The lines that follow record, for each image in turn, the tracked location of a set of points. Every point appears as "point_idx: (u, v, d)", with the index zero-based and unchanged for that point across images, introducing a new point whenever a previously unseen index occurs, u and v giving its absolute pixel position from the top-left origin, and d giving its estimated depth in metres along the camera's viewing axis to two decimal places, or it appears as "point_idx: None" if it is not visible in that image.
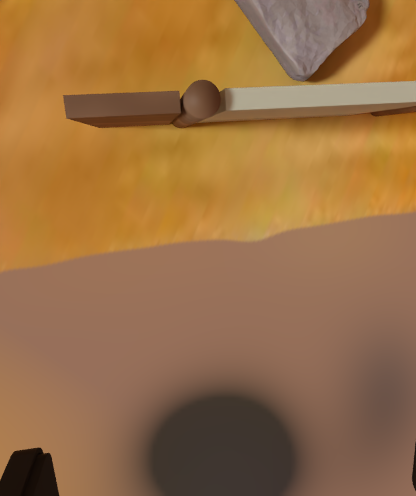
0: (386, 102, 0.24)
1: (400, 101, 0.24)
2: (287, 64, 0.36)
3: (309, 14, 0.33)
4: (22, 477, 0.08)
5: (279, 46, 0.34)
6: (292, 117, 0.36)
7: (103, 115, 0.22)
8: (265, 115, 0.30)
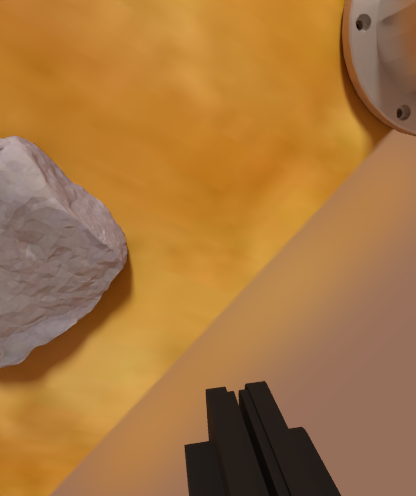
0: None
1: None
2: None
3: None
4: (227, 406, 0.09)
5: None
6: None
7: None
8: None
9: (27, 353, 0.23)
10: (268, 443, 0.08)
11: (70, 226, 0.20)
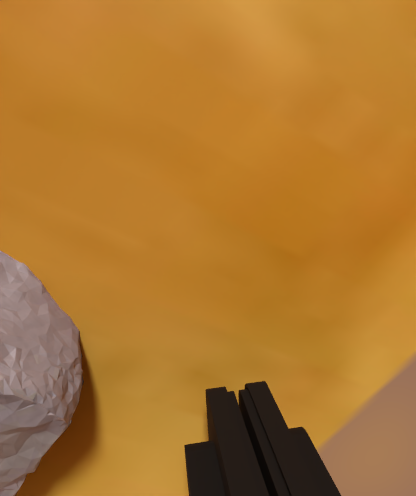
0: None
1: None
2: None
3: None
4: (227, 406, 0.09)
5: None
6: None
7: None
8: None
9: None
10: (268, 443, 0.08)
11: None
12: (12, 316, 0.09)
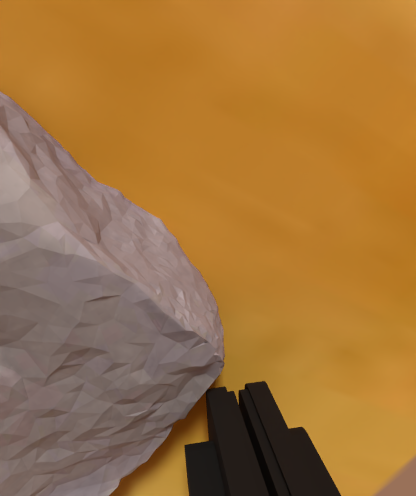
0: None
1: None
2: None
3: None
4: (227, 406, 0.09)
5: None
6: None
7: None
8: None
9: None
10: (268, 443, 0.08)
11: (104, 296, 0.07)
12: (167, 263, 0.09)
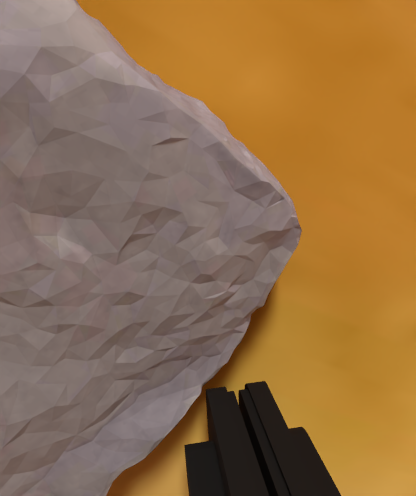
0: None
1: None
2: None
3: None
4: (227, 406, 0.09)
5: None
6: None
7: None
8: None
9: (106, 488, 0.09)
10: (268, 443, 0.08)
11: (172, 139, 0.07)
12: None
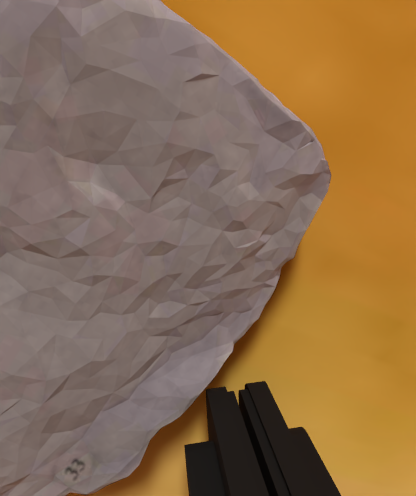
0: None
1: None
2: None
3: None
4: (227, 405, 0.09)
5: None
6: None
7: None
8: None
9: (144, 447, 0.10)
10: (268, 443, 0.08)
11: (202, 75, 0.06)
12: None
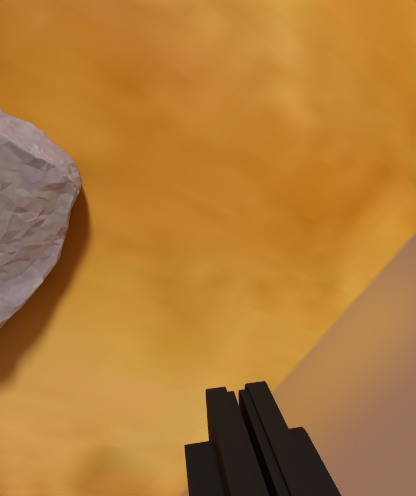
0: None
1: None
2: None
3: None
4: (227, 405, 0.09)
5: None
6: None
7: None
8: None
9: None
10: (268, 443, 0.08)
11: None
12: (31, 137, 0.17)
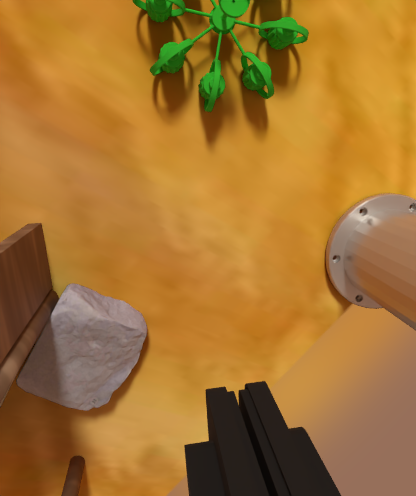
0: None
1: None
2: None
3: (62, 369, 0.38)
4: (227, 406, 0.09)
5: (29, 356, 0.37)
6: None
7: None
8: None
9: (110, 395, 0.40)
10: (268, 443, 0.08)
11: (111, 325, 0.37)
12: (126, 313, 0.39)
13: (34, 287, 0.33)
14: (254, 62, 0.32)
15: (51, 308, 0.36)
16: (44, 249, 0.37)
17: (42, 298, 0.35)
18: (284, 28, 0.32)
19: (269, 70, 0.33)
